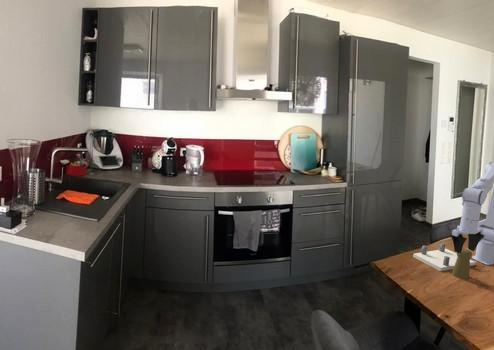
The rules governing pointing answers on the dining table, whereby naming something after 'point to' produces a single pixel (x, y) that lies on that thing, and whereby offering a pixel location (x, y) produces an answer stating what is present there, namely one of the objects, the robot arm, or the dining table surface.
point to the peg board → (439, 258)
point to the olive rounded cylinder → (462, 265)
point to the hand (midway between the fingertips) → (464, 251)
